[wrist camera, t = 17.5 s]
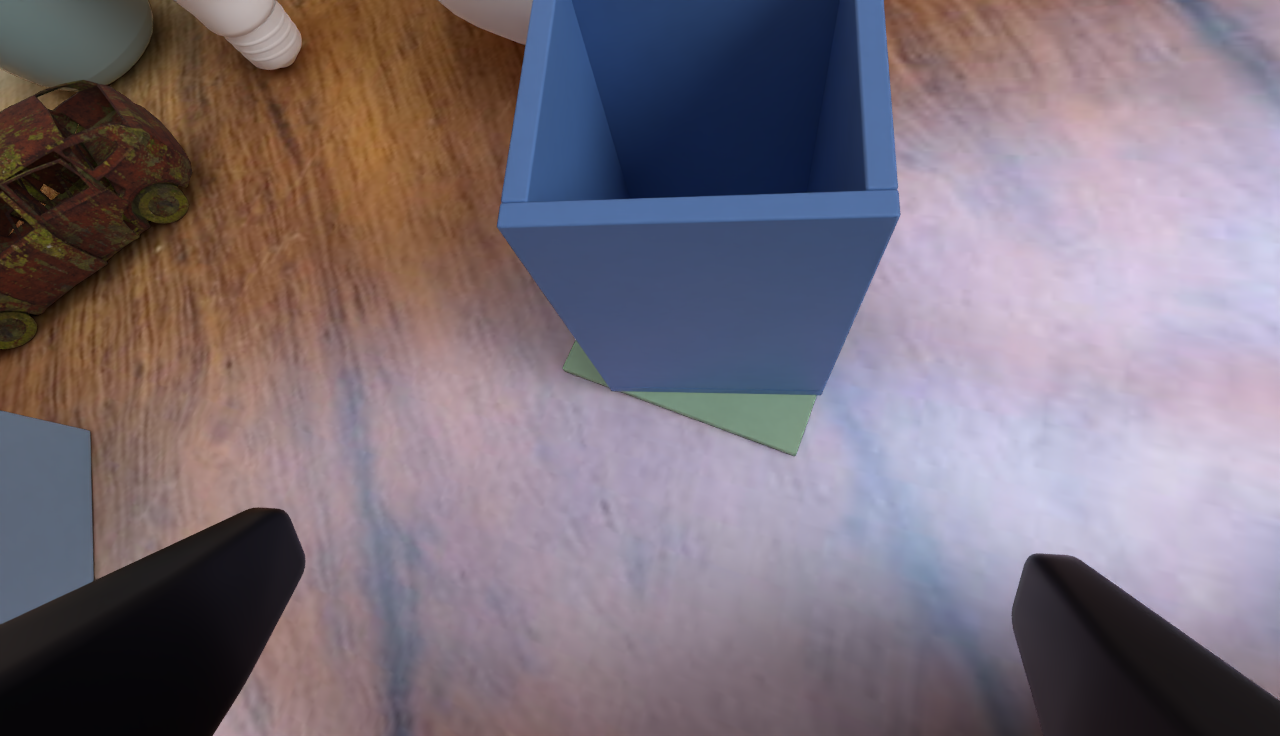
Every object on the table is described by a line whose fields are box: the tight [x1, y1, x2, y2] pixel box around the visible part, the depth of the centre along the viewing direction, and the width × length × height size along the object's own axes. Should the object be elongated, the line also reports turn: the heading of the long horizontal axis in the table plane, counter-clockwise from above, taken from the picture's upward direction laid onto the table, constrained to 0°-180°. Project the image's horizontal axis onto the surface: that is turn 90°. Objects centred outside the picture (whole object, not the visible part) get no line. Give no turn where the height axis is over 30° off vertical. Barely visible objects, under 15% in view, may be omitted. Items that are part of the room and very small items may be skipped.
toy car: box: [0, 80, 192, 349], centre depth 24 cm, size 12×7×5 cm, turn 133°
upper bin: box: [497, 0, 900, 395], centre depth 16 cm, size 7×7×10 cm
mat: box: [563, 340, 817, 456], centre depth 20 cm, size 8×8×1 cm
